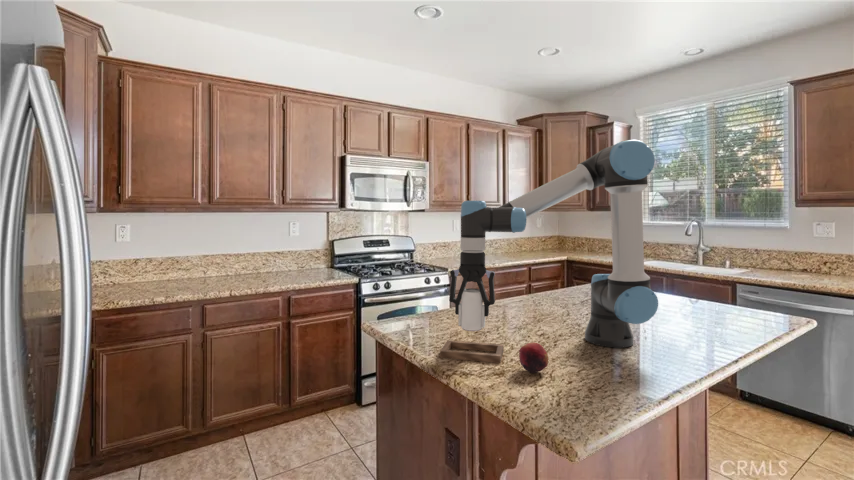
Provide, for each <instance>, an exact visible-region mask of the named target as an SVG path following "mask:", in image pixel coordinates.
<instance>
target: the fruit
mask: <svg viewBox="0 0 854 480" xmlns="http://www.w3.org/2000/svg"><path fill="white" fill-rule="evenodd" d="M518 351H519V352H518V353H519V354H518V357H519V363H520V365H521V366H522V368H523V369H524V370H525V371H527V372H529V373H530V374H536V373H539V372H541V371H543V370H544V369H546V368H547V366H548V364H549V354H548V353H547V351H546V349H545V348H544V346H543V345H541V344H540V343H538V342H533V341H532V342H528V343H526V344H524V345H522V346H521V347H520V348H519V350H518Z"/></svg>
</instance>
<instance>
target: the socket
mask: <svg viewBox="0 0 854 480" xmlns="http://www.w3.org/2000/svg"><path fill="white" fill-rule="evenodd" d="M451 349H457V350H451ZM459 349H460V350H459ZM462 350H467V351H462ZM468 350H470V351H468ZM476 351H482V352H476ZM486 352H492V353H486ZM494 352H495V353H494ZM503 353H504V344H503V343H501V344H500V343H487V342H486V343H485V342H476V341H475V342H473V341H461V340H459V341H458V340H447V341H445V344H444V345H443V346H442V348H441V349H440V351H439V358H440V359H450V360H451V359H453V360H462V361H464V360H465V361H474V362H484V363H487V362H488V363H496V364H501V362H502V357H503Z"/></svg>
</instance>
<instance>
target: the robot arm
mask: <svg viewBox="0 0 854 480" xmlns="http://www.w3.org/2000/svg"><path fill="white" fill-rule="evenodd" d="M655 161H656V159H655V154H654V152H653V150H652V149H651V147H650V146H649V145H647V143H645V142H644V141H641V140H638V139H628V140H624V141H619V142H617V143H615V144H613V145H610V146H607V147H605V148H602V149H601V150H600V151H598V152H597V153H595V154H594V155H592V156H590V157H589V158H587V159H586V160H584V161H582V162H580V163H578V164H577V165H576V168H575V169H573V170H571V171H569V172H567V173H565V174H562V175H560V176H559V177H556V178H555V179H552V180H550V181H548V182H545V183H544V184H542V185H541V186H539V187H536V188H534V189H532V190H531V191H528V192H527V193H524V194H522V195H521V196H518V197H516V198H514V199H512V200H510V201H508V202H507V203H504V204H501V205H500V206H498V207H491V206H490V207H489V206H487V203H486V201H485V200H464V201H462V203H461V205H460V206H461V208H460V248H459V249H460V250H461V252H460V253H459V255H460V260H459V261H460V265H459V267H458V268H457V269H451V270H450V273H449V274H450V277H451V280H450V292H449V302H450V303H453V304H454V305H455V306H454V307H455V308H454V313H455V315H458V322H457V323H458V324H457V325H458V327H461V300H462V293H463V290H464V289H466V287H467V283H470V282H473V283H476V284H477V286H478V289H479V290H480V293H481V296H482V299H483V306H482V329H484V328H485V327H486V317H488V316H489V313H490V306H492V305H493V306H494V305H495V302H496V299H495V297H496V294H495V284H494V283H495V281H494V278H495V275H496V271H494V270H492V271H490V270H487V268H486V253H485V252H484V251H485V250H486V233H491V232H492V233H514V234H515V233H522V232H524V231H525V230H526V227H527V219H528V218H530V217H532V216H535V215H536V214H538V213H541V212H542V211H544V210H546V209H548V208H550V207H552V206H555V205H557V204H558V203H561V202H563V201H565V200H567V199H569V198H570V197H574V196H575V195H577V194H580V193H582V192H583V191H585V190H587V191H592V190H594V189H597V188H599V187H602V186H604V190H606V191H607V192H608V193H609V194H610V221H611V222H610V224H611V225H610V227H611V251H612V255H611V256H612V272H611V273H597V274H596V273H595V274H593V275H592V277H591V283H590V318H589V320H588V323H587V325H586V328H585V331H584V339H585V341H587V342H588V343H591V344H593V345H596V346H601V347H605V348H606V347H607V348H616V349H617V348H628V347H631V346H633V345H634V334H633V332H632V328H631V325H630V324H632V325H641V324H644V323H647V322H648V321H650V320H651V319H652V318H653V317H654V316H655V315H656V313H657V311H658V308H659V300H658V297H657V295H656V293H655V292H654V291H653V290H652V289H651V276H650V275H648V274H647V273H646V272H645V257H644V256H645V255H644V254H645V252H644V221H643V219H644V217H643V215H644V214H643V191H644V190H645V189H647V187H648V185H649V184H648V183H649V182H648V180H649V179H648V175H649V174H650V173H651V172H652V171H653V169H654V166H655V163H656V162H655ZM459 274H460V275H461V277H462V278H463V279H462V281H461V285H460V287H459V290H458V293H457V296H456V289H457V277H458V276H459ZM485 275H486V277H487V278H488V289H489V290H488V291H489V298H488V295H487V292H486V289H485V285H484V282H483V277H484V276H485Z"/></svg>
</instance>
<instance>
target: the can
mask: <svg viewBox="0 0 854 480" xmlns="http://www.w3.org/2000/svg"><path fill="white" fill-rule="evenodd" d="M460 303H461V326H460V327H461V329H462V330H463V331H467V332H478V331H481V330H483V328H482V306H483V305H484V302H483V299H482V296H481V293H480V290H479V288H465V289H464V290H463V293H462V298H461V302H460Z"/></svg>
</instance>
